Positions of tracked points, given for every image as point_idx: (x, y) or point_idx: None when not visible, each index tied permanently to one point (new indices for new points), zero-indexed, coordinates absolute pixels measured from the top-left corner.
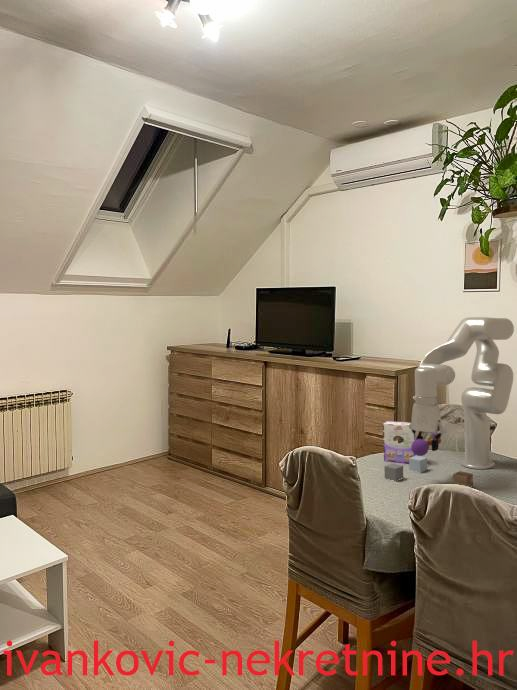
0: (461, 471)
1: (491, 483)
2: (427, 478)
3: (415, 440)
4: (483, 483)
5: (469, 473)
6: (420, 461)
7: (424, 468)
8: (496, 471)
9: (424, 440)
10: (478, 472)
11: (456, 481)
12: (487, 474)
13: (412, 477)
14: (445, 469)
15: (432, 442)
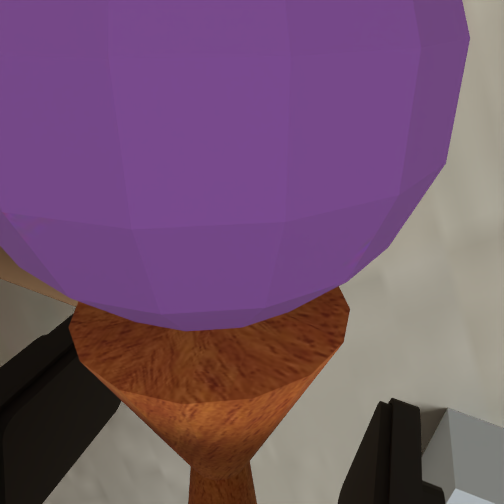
0: (65, 299)
1: (14, 328)
2: (360, 302)
3: (236, 14)
4: (42, 316)
5: (5, 272)
6: (452, 484)
7: (426, 464)
8: (75, 498)
9: (119, 389)
10: (133, 473)
11: None
12: (87, 453)
13: (485, 289)
14: (303, 494)
15: (8, 385)
